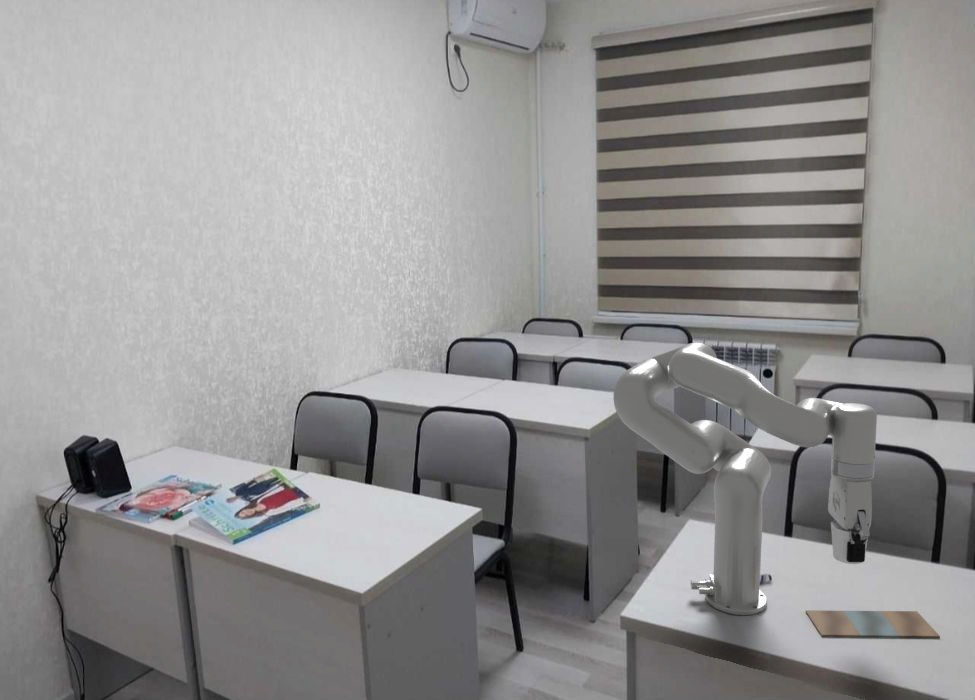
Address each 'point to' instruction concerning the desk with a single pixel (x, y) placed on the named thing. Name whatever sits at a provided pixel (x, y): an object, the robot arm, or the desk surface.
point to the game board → (871, 624)
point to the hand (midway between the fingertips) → (848, 552)
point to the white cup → (841, 541)
